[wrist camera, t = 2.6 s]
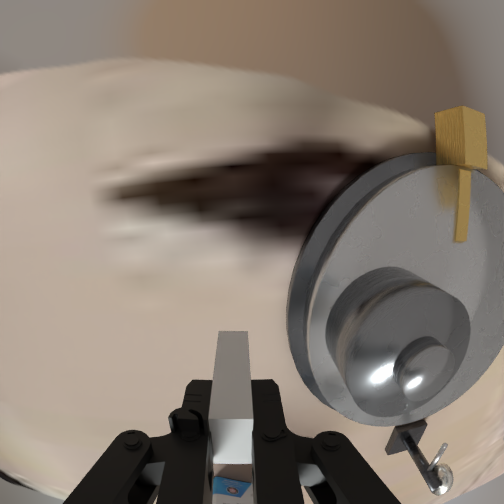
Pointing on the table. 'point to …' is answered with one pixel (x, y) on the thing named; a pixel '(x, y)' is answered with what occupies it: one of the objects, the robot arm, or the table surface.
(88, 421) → the table surface
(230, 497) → the ink box
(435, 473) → the dial post
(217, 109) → the table surface
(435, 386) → the cover
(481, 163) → the turntable
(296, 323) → the base
